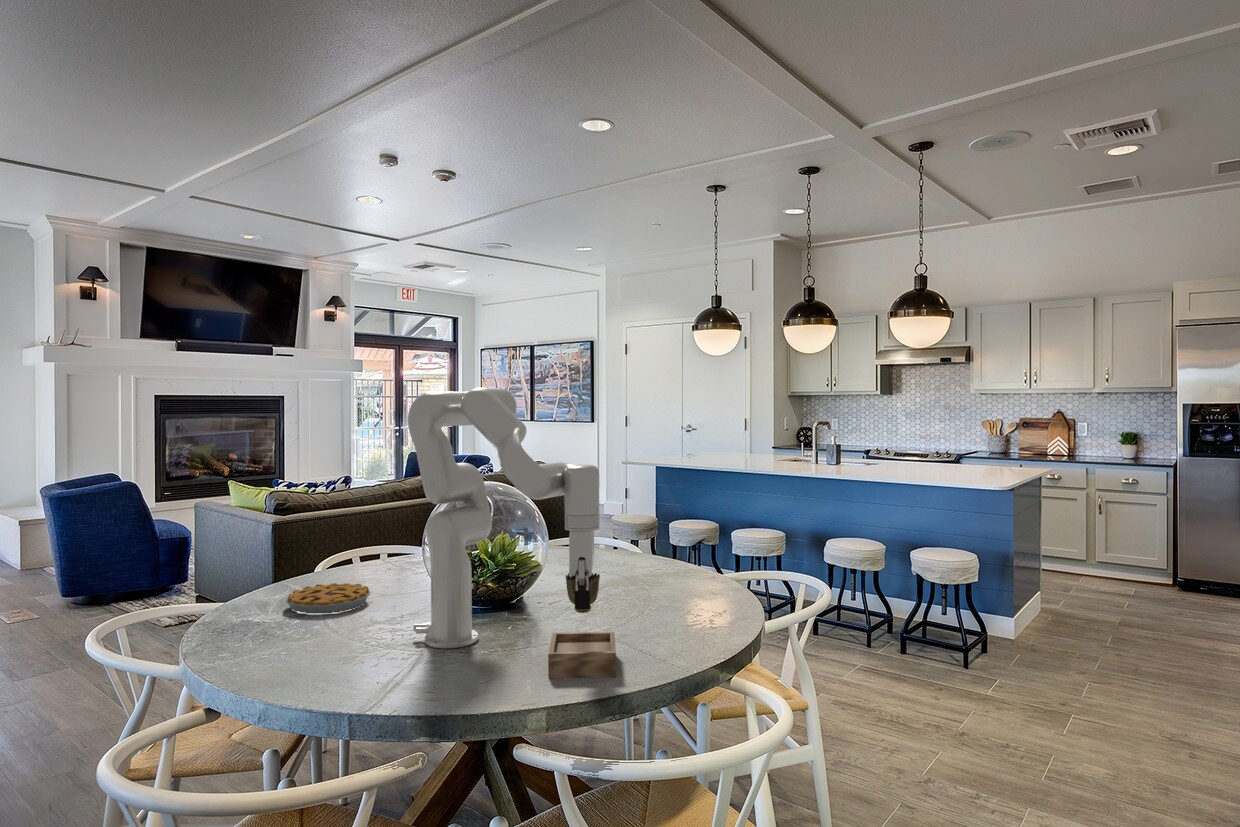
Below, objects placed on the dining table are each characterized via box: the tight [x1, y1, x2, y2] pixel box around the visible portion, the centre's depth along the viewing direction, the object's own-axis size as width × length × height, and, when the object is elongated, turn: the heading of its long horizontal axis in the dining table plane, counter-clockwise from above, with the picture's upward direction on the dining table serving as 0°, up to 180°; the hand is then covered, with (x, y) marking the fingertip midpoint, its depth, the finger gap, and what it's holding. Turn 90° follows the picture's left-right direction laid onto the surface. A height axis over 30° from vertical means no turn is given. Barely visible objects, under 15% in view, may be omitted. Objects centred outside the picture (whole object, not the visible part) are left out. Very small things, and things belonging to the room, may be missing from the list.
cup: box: [565, 572, 601, 614], centre depth 159 cm, size 8×7×8 cm
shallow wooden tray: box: [547, 631, 617, 679], centre depth 159 cm, size 14×14×6 cm
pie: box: [285, 582, 371, 613], centre depth 208 cm, size 22×22×5 cm
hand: (582, 603), depth 159 cm, fingers closed on cup, 6 cm apart
